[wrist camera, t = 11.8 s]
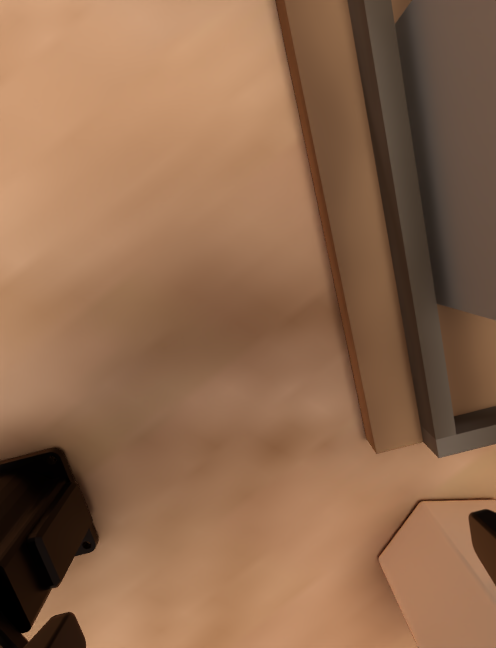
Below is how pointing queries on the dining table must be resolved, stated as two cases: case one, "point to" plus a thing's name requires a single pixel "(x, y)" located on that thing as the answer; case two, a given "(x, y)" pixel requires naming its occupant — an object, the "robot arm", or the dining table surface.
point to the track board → (384, 234)
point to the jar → (442, 577)
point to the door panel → (454, 142)
